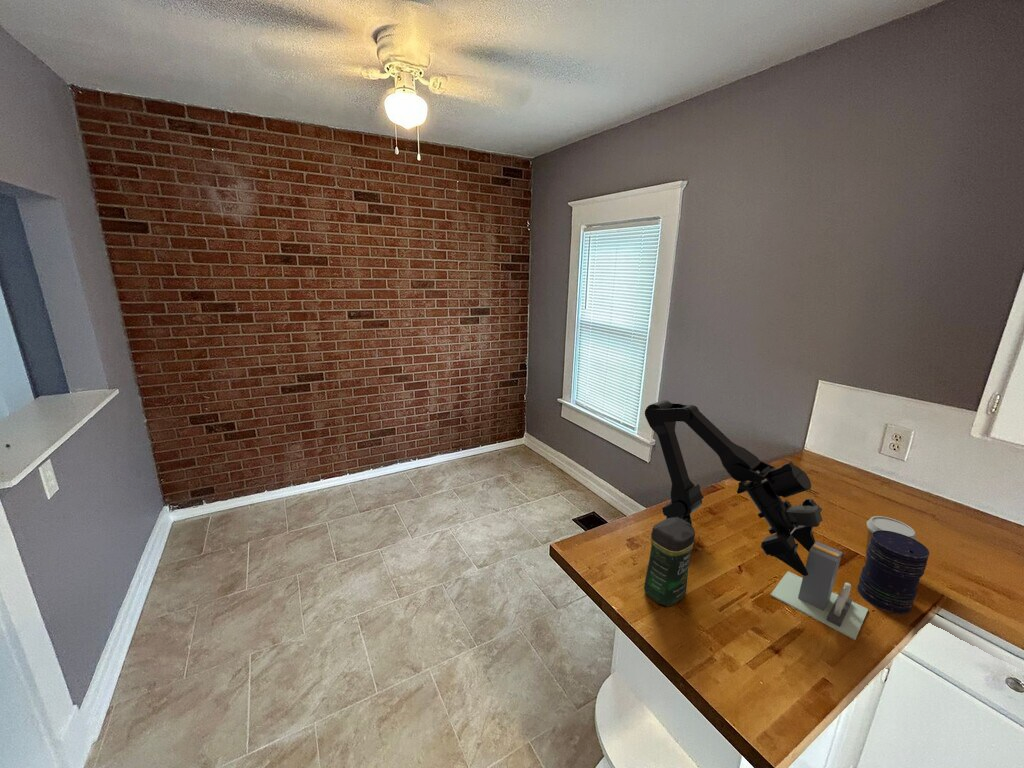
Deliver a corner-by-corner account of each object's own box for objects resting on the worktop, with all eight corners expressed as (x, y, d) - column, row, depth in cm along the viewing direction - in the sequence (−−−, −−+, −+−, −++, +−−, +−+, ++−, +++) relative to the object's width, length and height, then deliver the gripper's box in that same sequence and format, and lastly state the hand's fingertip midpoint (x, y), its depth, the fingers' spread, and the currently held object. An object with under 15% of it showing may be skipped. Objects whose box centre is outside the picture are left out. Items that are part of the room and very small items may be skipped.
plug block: (797, 598, 97) (809, 549, 94) (804, 587, 100) (816, 540, 97) (823, 611, 94) (836, 560, 90) (829, 600, 97) (842, 551, 93)
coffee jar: (667, 613, 93) (677, 541, 88) (638, 591, 99) (645, 523, 94) (692, 594, 99) (702, 525, 94) (663, 574, 105) (671, 509, 100)
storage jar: (846, 581, 103) (860, 529, 99) (887, 583, 103) (903, 530, 99) (879, 614, 94) (896, 557, 89) (924, 615, 93) (943, 558, 89)
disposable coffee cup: (864, 573, 106) (876, 532, 103) (851, 550, 115) (861, 511, 111) (912, 583, 103) (926, 541, 100) (894, 559, 111) (906, 519, 108)
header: (770, 595, 98) (775, 574, 97) (787, 572, 106) (792, 552, 104) (855, 640, 87) (862, 616, 85) (867, 610, 94) (874, 588, 93)
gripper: (787, 506, 89) (838, 578, 84) (813, 479, 101) (859, 540, 96) (742, 521, 97) (786, 588, 92) (771, 494, 109) (811, 552, 104)
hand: (812, 566), depth 96 cm, fingers open, 9 cm apart
